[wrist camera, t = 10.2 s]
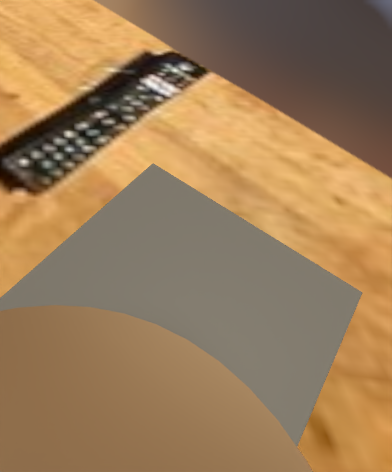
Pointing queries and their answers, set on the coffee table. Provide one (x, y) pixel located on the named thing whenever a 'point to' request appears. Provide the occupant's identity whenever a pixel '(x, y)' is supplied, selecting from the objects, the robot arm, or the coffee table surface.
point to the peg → (125, 400)
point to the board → (204, 288)
